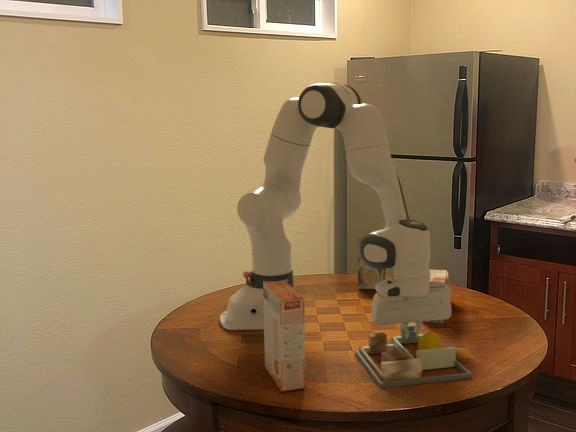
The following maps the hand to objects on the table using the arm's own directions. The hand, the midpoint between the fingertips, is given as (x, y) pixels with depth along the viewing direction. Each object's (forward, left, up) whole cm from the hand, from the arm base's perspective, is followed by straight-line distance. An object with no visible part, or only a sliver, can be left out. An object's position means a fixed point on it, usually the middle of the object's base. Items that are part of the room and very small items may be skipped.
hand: (411, 337), depth 160 cm
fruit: (0, -11, -2) cm, 12 cm away
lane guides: (-5, -12, -2) cm, 13 cm away
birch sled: (-10, -11, -2) cm, 15 cm away
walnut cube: (-10, -15, -2) cm, 18 cm away
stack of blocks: (+17, +23, -2) cm, 29 cm away
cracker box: (-35, -12, -2) cm, 37 cm away
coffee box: (+6, +51, -2) cm, 52 cm away
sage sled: (0, -6, -2) cm, 6 cm away
